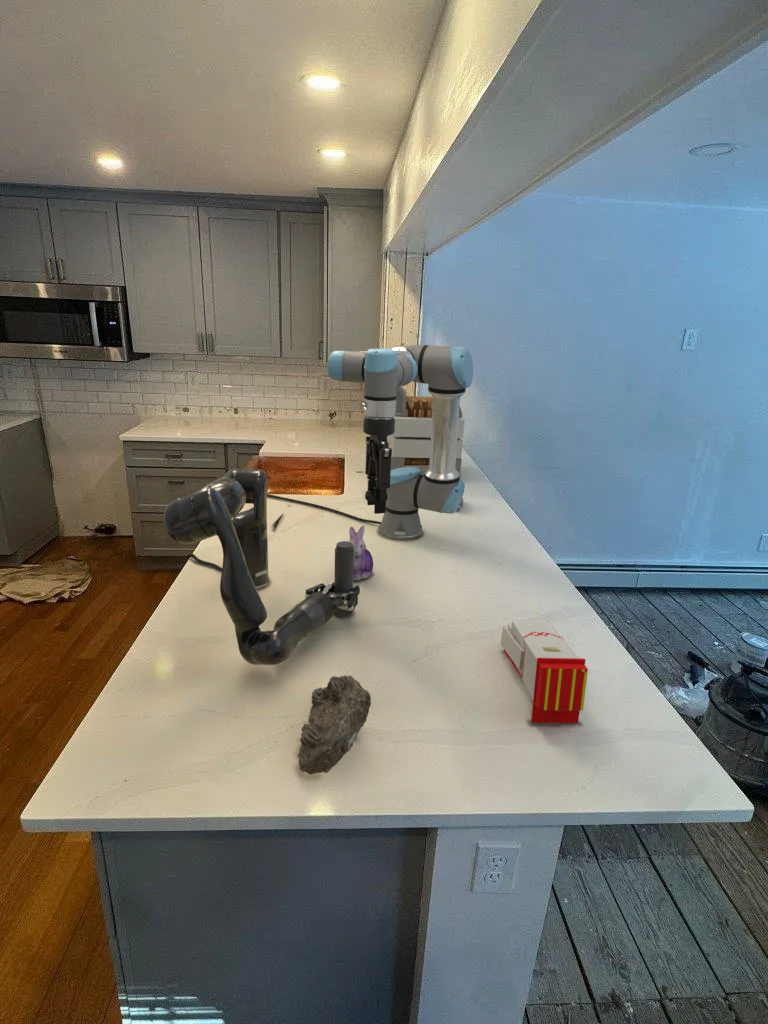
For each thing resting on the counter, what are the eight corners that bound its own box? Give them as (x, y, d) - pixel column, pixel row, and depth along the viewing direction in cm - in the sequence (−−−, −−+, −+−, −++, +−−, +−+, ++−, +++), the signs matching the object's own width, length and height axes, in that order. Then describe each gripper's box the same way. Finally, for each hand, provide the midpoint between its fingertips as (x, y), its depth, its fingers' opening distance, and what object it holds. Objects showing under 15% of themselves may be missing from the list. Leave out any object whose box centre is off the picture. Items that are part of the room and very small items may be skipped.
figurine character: (463, 515, 225) (458, 499, 238) (465, 497, 221) (460, 482, 235) (446, 514, 224) (442, 498, 238) (448, 497, 221) (444, 482, 235)
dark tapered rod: (290, 508, 223) (292, 504, 223) (272, 532, 197) (275, 527, 196) (286, 505, 223) (289, 501, 223) (268, 529, 197) (271, 525, 196)
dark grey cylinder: (333, 616, 145) (334, 547, 138) (334, 607, 149) (335, 540, 143) (351, 617, 145) (353, 548, 138) (353, 608, 149) (354, 540, 143)
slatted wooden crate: (382, 463, 289) (386, 382, 275) (445, 464, 293) (451, 384, 279) (390, 482, 257) (394, 392, 243) (460, 483, 261) (468, 394, 247)
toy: (547, 606, 135) (596, 665, 106) (541, 658, 138) (589, 729, 108) (496, 604, 134) (532, 664, 105) (492, 657, 137) (526, 729, 108)
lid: (370, 503, 138) (370, 497, 137) (361, 496, 143) (361, 490, 142) (391, 501, 140) (391, 495, 139) (382, 494, 145) (382, 488, 144)
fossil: (305, 676, 114) (363, 644, 109) (335, 707, 117) (393, 676, 112) (276, 768, 94) (345, 733, 89) (313, 802, 97) (382, 770, 92)
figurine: (351, 584, 162) (352, 535, 157) (337, 569, 170) (338, 523, 165) (380, 578, 166) (383, 531, 161) (365, 564, 174) (367, 519, 169)
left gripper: (337, 608, 129) (373, 579, 143) (286, 592, 135) (326, 566, 149) (336, 636, 131) (372, 606, 145) (286, 619, 137) (326, 591, 152)
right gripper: (354, 409, 141) (352, 497, 149) (375, 425, 125) (372, 523, 133) (382, 409, 144) (379, 495, 152) (407, 424, 127) (402, 520, 135)
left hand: (348, 586), depth 147 cm, fingers closed on dark grey cylinder, 5 cm apart
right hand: (376, 508), depth 142 cm, fingers closed on lid, 5 cm apart
